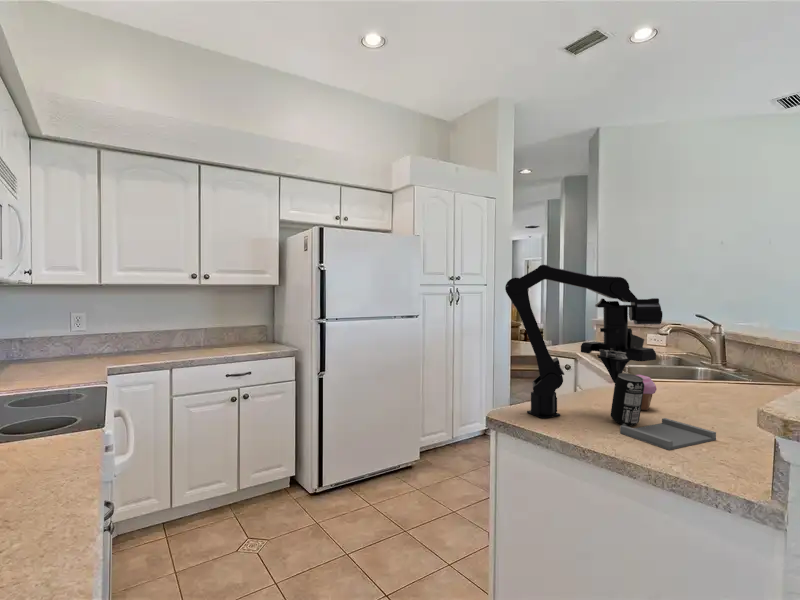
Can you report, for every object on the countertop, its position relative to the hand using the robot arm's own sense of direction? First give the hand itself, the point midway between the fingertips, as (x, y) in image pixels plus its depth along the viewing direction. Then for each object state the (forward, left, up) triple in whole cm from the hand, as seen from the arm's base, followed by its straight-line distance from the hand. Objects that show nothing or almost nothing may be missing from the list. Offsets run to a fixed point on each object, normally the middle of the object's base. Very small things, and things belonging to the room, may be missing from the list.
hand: (616, 383), depth 111 cm
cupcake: (+16, +5, -10) cm, 20 cm away
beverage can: (0, -3, -10) cm, 10 cm away
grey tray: (0, -14, -10) cm, 17 cm away
